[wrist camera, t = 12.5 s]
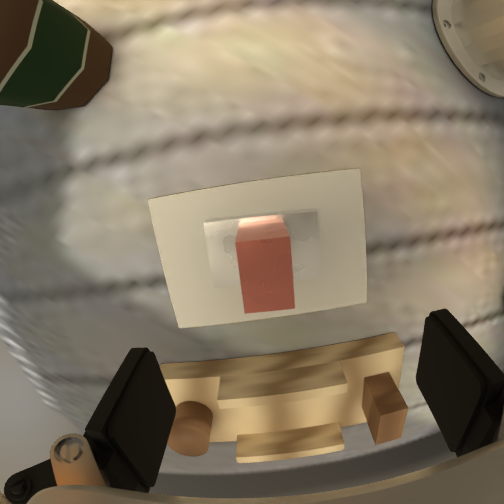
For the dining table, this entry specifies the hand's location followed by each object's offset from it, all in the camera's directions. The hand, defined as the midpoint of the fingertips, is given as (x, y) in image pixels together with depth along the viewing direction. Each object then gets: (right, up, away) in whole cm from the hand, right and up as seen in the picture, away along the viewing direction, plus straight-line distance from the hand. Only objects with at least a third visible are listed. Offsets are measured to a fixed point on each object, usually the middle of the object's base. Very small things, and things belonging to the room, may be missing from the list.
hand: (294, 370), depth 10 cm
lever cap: (0, +4, +14) cm, 15 cm away
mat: (0, +4, +15) cm, 15 cm away
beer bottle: (-16, +19, +10) cm, 27 cm away
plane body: (+2, -9, +19) cm, 21 cm away
